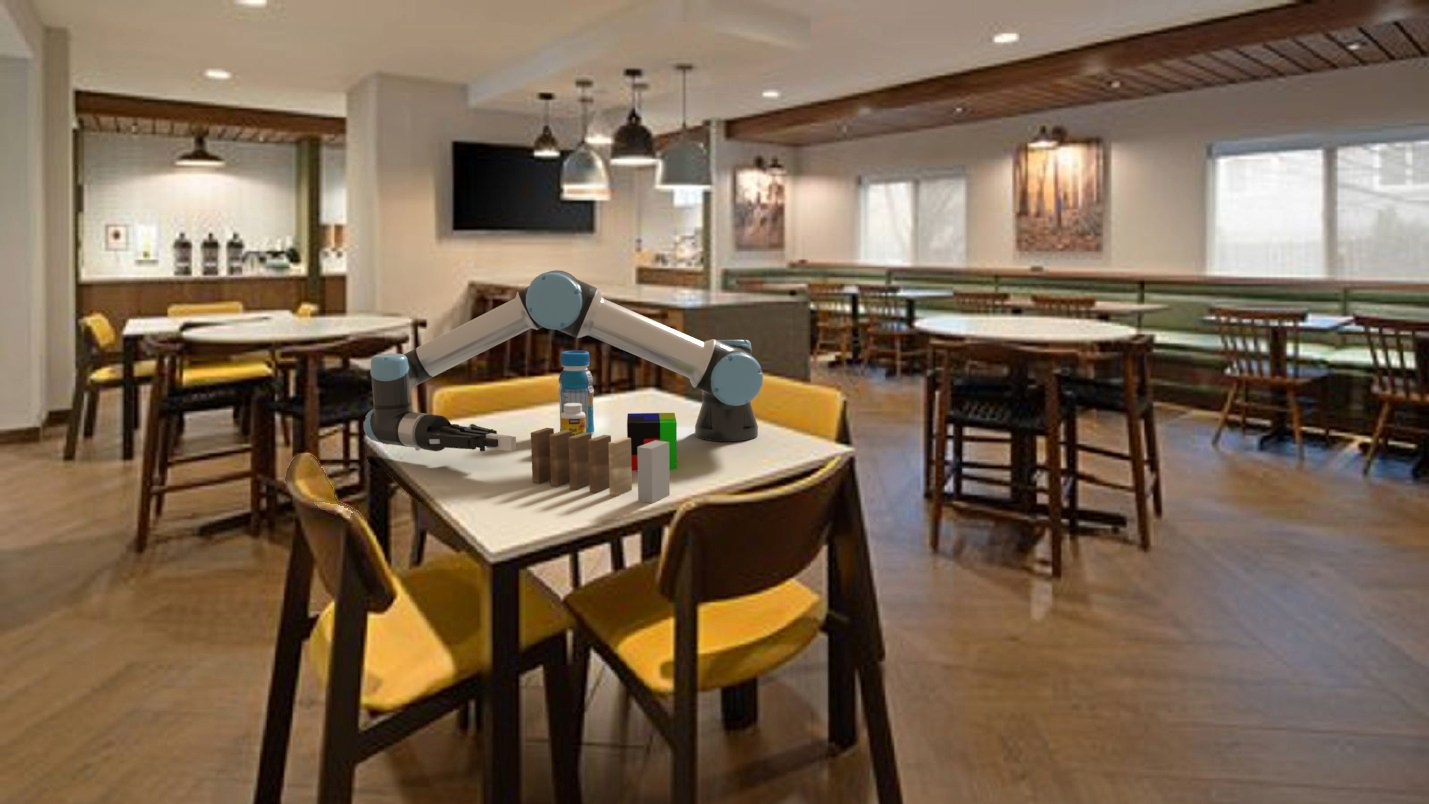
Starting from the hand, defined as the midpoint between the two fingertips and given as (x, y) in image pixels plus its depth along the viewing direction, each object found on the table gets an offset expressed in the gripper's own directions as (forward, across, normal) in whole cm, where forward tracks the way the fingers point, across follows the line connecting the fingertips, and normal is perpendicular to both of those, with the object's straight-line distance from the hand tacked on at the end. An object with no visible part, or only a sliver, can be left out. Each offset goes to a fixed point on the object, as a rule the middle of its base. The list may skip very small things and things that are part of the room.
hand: (513, 444), depth 174 cm
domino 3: (+16, 0, -6) cm, 18 cm away
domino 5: (+25, 0, -6) cm, 26 cm away
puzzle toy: (+19, -21, -7) cm, 29 cm away
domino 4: (+21, 0, -6) cm, 22 cm away
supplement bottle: (-3, -24, -7) cm, 25 cm away
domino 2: (+12, 0, -6) cm, 13 cm away
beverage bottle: (-12, -36, -7) cm, 39 cm away
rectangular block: (+33, 0, -6) cm, 33 cm away
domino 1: (+7, 0, -6) cm, 10 cm away
